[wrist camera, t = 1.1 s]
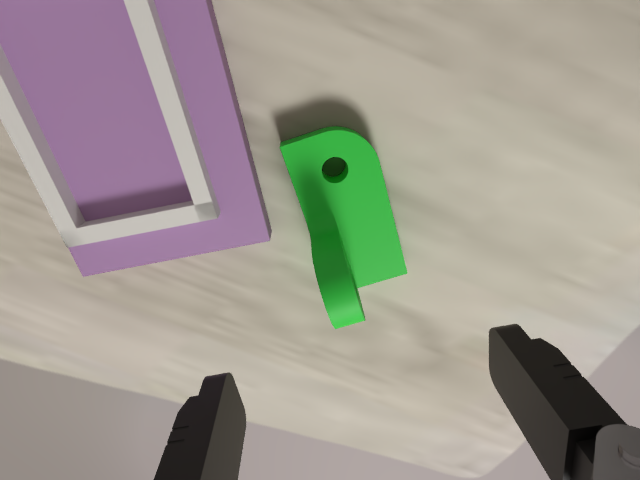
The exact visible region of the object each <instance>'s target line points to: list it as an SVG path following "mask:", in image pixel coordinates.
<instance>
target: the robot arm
mask: <svg viewBox="0 0 640 480" xmlns="http://www.w3.org/2000/svg"><path fill="white" fill-rule="evenodd" d="M489 370H490V375H491V378H492V381H493V384H494V386H495V388H496V389H497V391H498V393H499V394H500V396H501V398H502V399H503V401H504V403H505V404H506V406H507V408H508V409H509V411H510V413H511V414H512V416H513V418H514V419H515V421H516V423H517V424H518V426H519V428H520V429H521V431H522V433H523V434H524V436H525V438H526V439H527V441H528V443H529V444H530V446H531V448H532V449H533V451H534V453H535V454H536V456H537V458H538V459H539V461H540V463H541V464H542V466H543V468H544V469H545V471H546V473H547V474H548V476H549V478H550V479H551V480H640V429H639V428H636V427H633V426H629V425H627V424H626V423H625V422H624V421H623V420H622V419H621V418H620V416H618V414H617V413H616V412H615V411H614V410H613V409H612V408H611V407H610V406H609V404H608V403H607V402H606V401H605V400H604V399H603V398H602V397H601V396H600V394H599V393H598V392H597V391H596V390H595V389H594V388H593V387H592V386H591V385H590V383H589V382H588V381H587V380H586V379H585V378H584V377H582V376H581V373H580V372H579V371H578V370H577V369H576V368H575V367H574V366H573V365H571V362H570V361H569V360H568V359H567V358H566V357H565V356H564V355H563V354H562V352H561V351H560V350H559V349H558V348H556V347H554V346H553V345H551V344H549V343H548V342H546V341H544V340H543V339H541V338H538V339H532V340H531V339H530V338H529V336H528V335H527V334H526V333H525V332H524V330H523V329H522V328H521V327H520V326H519V325H518V324H512V325H506V326H500V327H495V328H491V329H490V331H489ZM172 429H173V430H172V432H171V433H170V436H169V439H168V445H167V446H166V447H165V450H164V453H163V455H162V458H161V461H160V464H159V467H158V469H157V472H156V475H155V478H154V480H238V474H239V467H240V462H241V454H242V449H243V442H244V436H245V430H246V414H245V409H244V405H243V403H242V400H241V397H240V395H239V392H238V389H237V386H236V384H235V381H234V378H233V376H232V374H231V373H223V374H218V375H212V376H206V377H205V378H204V380H203V383H202V386H201V389H200V392H199V395H198V396H193V397H189V399H188V400H187V401H186V403H185V404H184V405H183V406H182V408H181V409H180V410H179V412H178V414H177V417H176V420H175V422H174V425H173V428H172Z"/></svg>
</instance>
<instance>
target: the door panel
mask: <svg viewBox="0 0 640 480" xmlns="http://www.w3.org/2000/svg"><path fill="white" fill-rule="evenodd" d="M0 119H1V121H2V123H3V125H4V127H5V129H6V131H7V133H8V135H9V137H10V139H11V140H12V142H13V144H14V146H15V148H16V150H17V152H18V154H19V156H20V158H21V160H22V162H23V164H24V166H25V168H26V169H27V171H28V173H29V175H30V177H31V179H32V181H33V183H34V185H35V187H36V189H37V191H38V193H39V195H40V197H41V198H42V200H43V202H44V204H45V206H46V208H47V210H48V212H49V214H50V216H51V218H52V220H53V222H54V224H55V225H56V227H57V229H58V231H59V233H60V235H61V237H62V239H63V241H64V243H65V245H66V247H67V248H69V250H70V252H71V254H72V256H73V258H74V260H75V262H76V264H77V266H78V268H79V270H80V272H81V273H82V275H83V277H84V276H89V275H94V274H99V273H105V272H110V271H115V270H120V269H125V268H131V267H136V266H141V265H146V264H151V263H157V262H162V261H167V260H172V259H177V258H183V257H188V256H193V255H198V254H203V253H209V252H214V251H219V250H224V249H229V248H235V247H240V246H245V245H250V244H255V243H261V242H266V241H270V238H271V232H272V230H271V226H270V222H269V219H268V215H267V211H266V207H265V203H264V200H263V196H262V192H261V188H260V184H259V181H258V177H257V173H256V169H255V165H254V161H253V158H252V154H251V150H250V146H249V142H248V139H247V135H246V131H245V127H244V123H243V120H242V116H241V112H240V108H239V104H238V100H237V97H236V93H235V89H234V85H233V81H232V78H231V74H230V70H229V66H228V62H227V59H226V55H225V51H224V47H223V43H222V39H221V36H220V32H219V28H218V24H217V20H216V17H215V13H214V9H213V5H212V1H211V0H0Z"/></svg>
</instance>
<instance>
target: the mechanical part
mask: <svg viewBox="0 0 640 480" xmlns="http://www.w3.org/2000/svg"><path fill="white" fill-rule="evenodd" d="M280 149H281V152H282V155H283V158H284V161H285V163H286V166H287V169H288V172H289V175H290V177H291V180H292V183H293V186H294V189H295V191H296V194H297V197H298V200H299V203H300V205H301V208H302V211H303V214H304V217H305V219H306V222H307V225H308V229H309V232H310V237H311V247H312V258H313V264H314V269H315V273H316V277H317V281H318V285H319V288H320V292H321V295H322V298H323V302H324V305H325V307H326V310H327V313H328V316H329V318H330V320H331V323H332V325H333V326H334V328H335V329H337V328H340V327H344V326H347V325H351V324H354V323H358V322H361V321H365V316H364V312H363V308H362V304H361V300H360V297H359V293H358V289H357V288H359V287H363V286H366V285H369V284H373V283H376V282H380V281H383V280H386V279H390V278H393V277H397V276H400V275H403V274H407V270H406V266H405V262H404V258H403V254H402V250H401V246H400V242H399V238H398V234H397V230H396V226H395V222H394V218H393V214H392V210H391V206H390V202H389V198H388V194H387V190H386V186H385V182H384V178H383V174H382V170H381V166H380V162H379V159H378V156H377V154H376V152H375V150H374V149H373V147H372V146H371V145H370V144H369V143H368V142H367V141H366V139H365V138H364V137H363V136H361V135H360V134H359V133H357V132H355V131H354V130H351V129H349V128H345V127H338V126H333V127H326V128H322V129H319V130H316V131H313V132H310V133H307V134H304V135H301V136H298V137H295V138H292V139H289V140H286V141H283V142H281V144H280ZM332 157H339V158H342V159H343V160H344V161H345V163H346V164H345V169H344V171H343V172H342V173H341V174H340V175H338V176H334V177H332V176H328V175H326V174H325V173H324V172H323V171H322V166H323V164H324V162H325V161H326V160H327V159H329V158H332Z"/></svg>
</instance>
